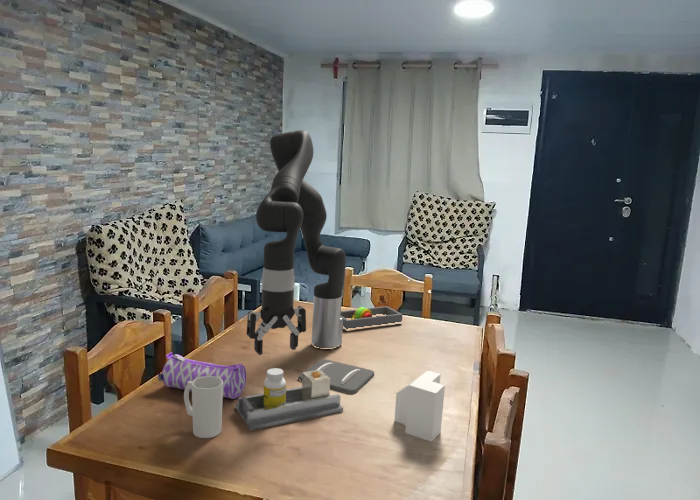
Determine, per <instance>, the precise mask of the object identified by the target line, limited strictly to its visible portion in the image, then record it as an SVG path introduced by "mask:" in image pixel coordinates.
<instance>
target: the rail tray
mask: <svg viewBox="0 0 700 500" xmlns="http://www.w3.org/2000/svg"><path fill="white" fill-rule="evenodd" d="M301 373H302V381H301V386H297V387H292V388H291V387H290V388H286V404H284V405H279V406H274V407H269V408H264V392H263V393H259V394H254V395H246V396H241V397H240V396H239V397H237V403H235V410H236V412H237V413H238V414H239V416H240V417H241V419H242V420H243V422H244V423H245V424H246V426H247V428H248V430H249V431H250V432H252V431H257V430H263V429H266V428H271V427H276V426H280V425H281V426H282V425H286V424H291V423H296V422H301V421H305V420H310V419H315V418H319V417H324V416H328V415H332V414H333V415H334V414H339V413H342V412H344V407H343V406H342V405H341V395H340V394H339V393H336V394H331V395H330V391H331V389H330V378H329V377H328V376H327V375H326V374H324V373H323V372H322V371H321V370H314V371H308V372H304V371H302V372H301Z"/></svg>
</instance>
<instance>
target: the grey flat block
mask: <svg viewBox="0 0 700 500" xmlns="http://www.w3.org/2000/svg"><path fill="white" fill-rule="evenodd" d="M314 370H321V371H322V372H323V373H324V374H326V375H327V376H328V377H329V378H330V390H333V389H334V391H337V390H338V392H342V393H344V392H345V393H344V394H348V393H349V395H353V394H354V393H355V394H356V392H359V391H360V390H361V389H362V388H363V387H364V386H366V385H367V384H368V383H369V382H368V381H369V380H370V379H371V378H372V377H373V376H374V377H375V371H374V370H372V369H368V368H365V367H359V366H356V365H352V364H347V363H342V362H339V361H335V360H331V359H327V358H326V359H325V358H322V359H319V360H318V361H316V362H315V363H314V364H312V365H310V366H309V367H308V368H306V369H305V370H304V371H303V372H308V371H314ZM374 377H373V378H374ZM373 378H372V379H373ZM298 379H300V380H301V381H300V380H299V381H300V382H302V372H301V373H299V374H298V376H297V380H298ZM372 379H371V380H372ZM371 380H370V381H371ZM358 390H359V391H358Z"/></svg>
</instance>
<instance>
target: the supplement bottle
mask: <svg viewBox="0 0 700 500" xmlns="http://www.w3.org/2000/svg"><path fill="white" fill-rule="evenodd" d="M286 389H287V381H286V379H285V378H284V370H283V369H282V368H277V367H274V368H269V369H267V371H266V378H265V380H264V381H263V393H264V408H269V407H274V406H279V405H284V404H286Z"/></svg>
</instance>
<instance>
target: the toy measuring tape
mask: <svg viewBox="0 0 700 500" xmlns="http://www.w3.org/2000/svg"><path fill="white" fill-rule="evenodd" d="M368 308H369V307H368ZM368 308H367V307H364V306H361V307H358V308H357V309H355V310H356V311H355V313H354V316H352V318H351V319H359V318H368V317H372V313H371V311H370V310H369V309H368ZM383 315H385V314H383Z"/></svg>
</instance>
